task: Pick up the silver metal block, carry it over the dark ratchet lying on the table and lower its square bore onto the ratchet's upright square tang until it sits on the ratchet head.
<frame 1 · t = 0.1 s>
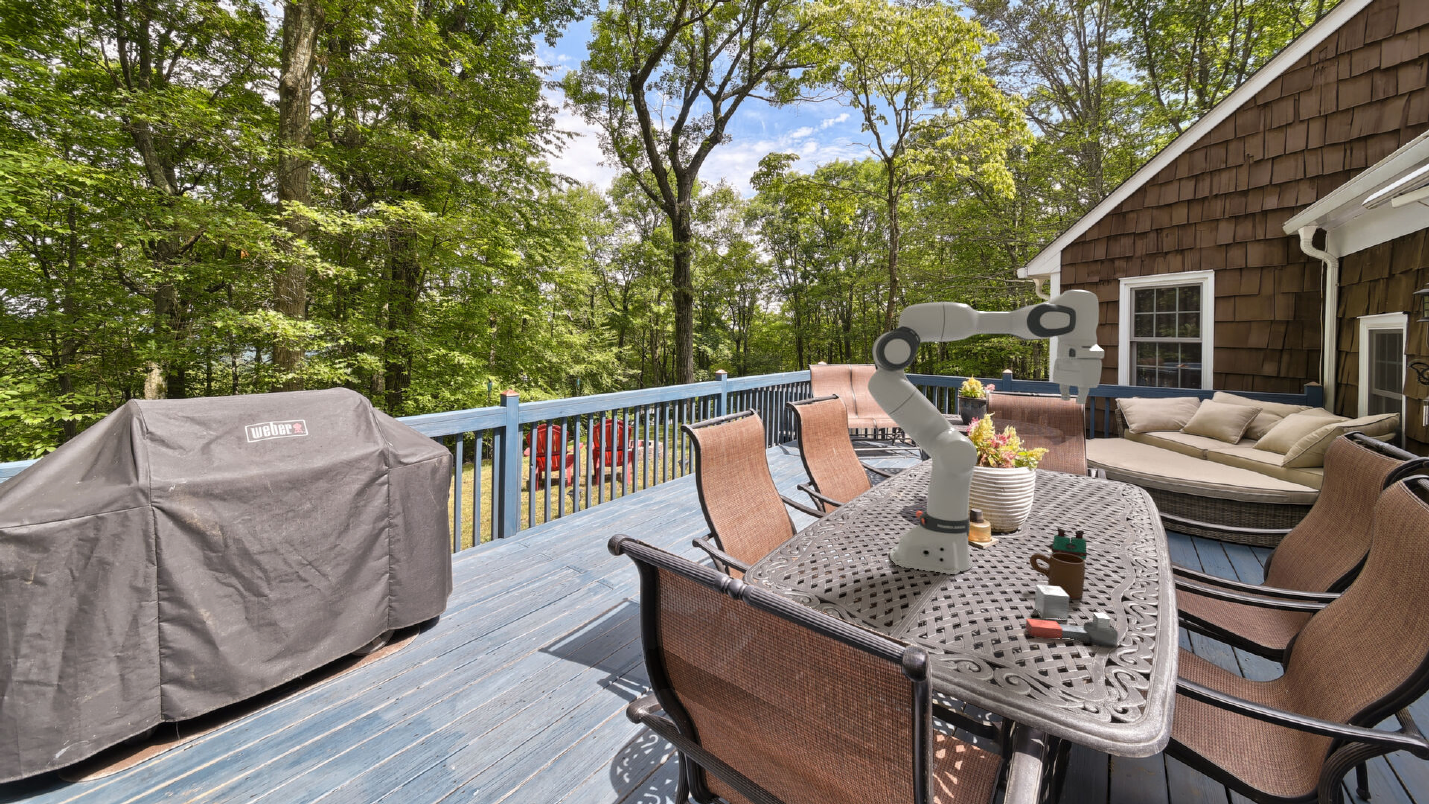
hand: (1072, 402, 147), 48 cm above the table, tool pointing down, fingers open, 8 cm apart
binoculars: (1066, 562, 159), on the table
silver metal block: (1050, 614, 128), on the table
mug: (1054, 591, 140), on the table
ratchet: (1099, 639, 117), on the table
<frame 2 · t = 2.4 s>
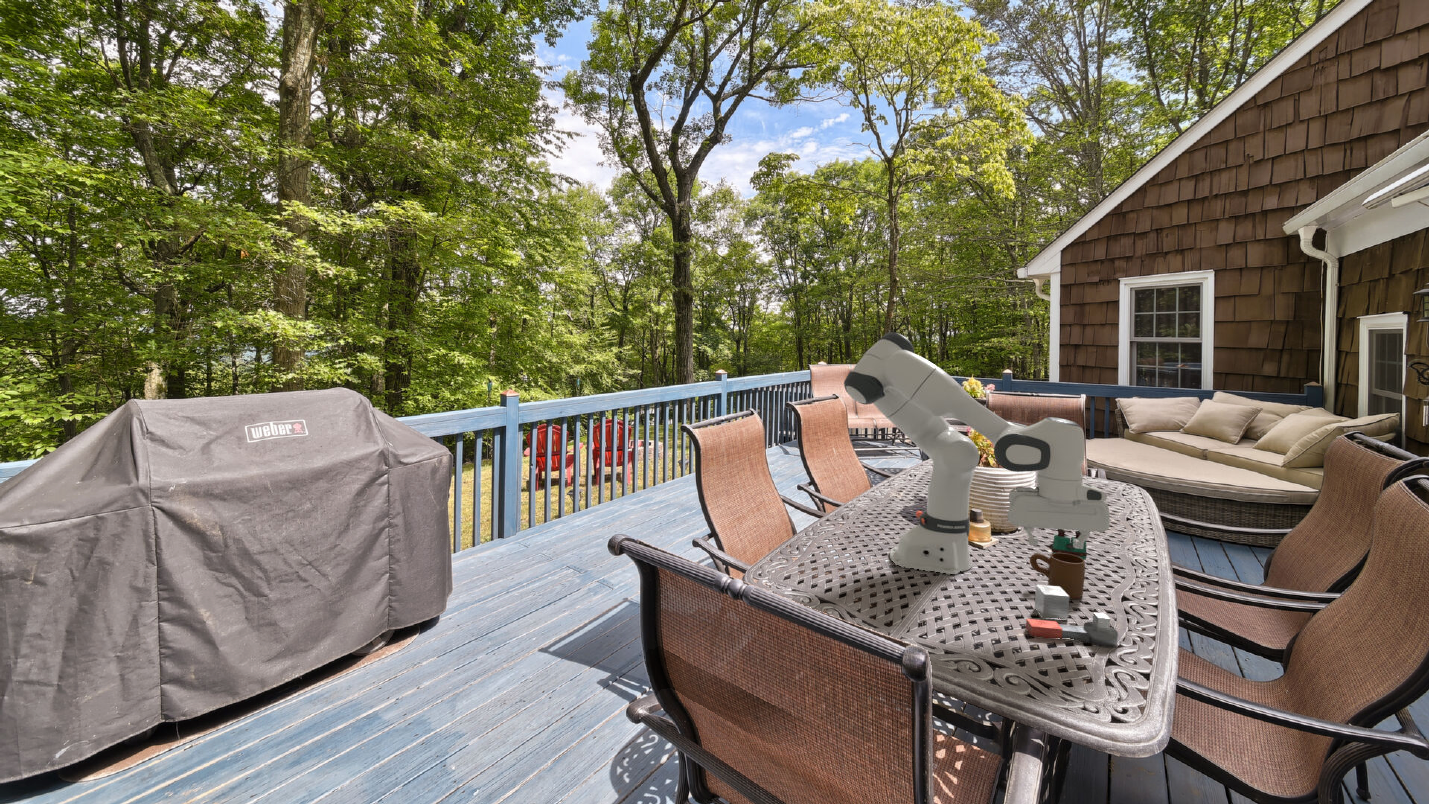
hand: (1055, 546, 126), 17 cm above the table, tool pointing down, fingers open, 8 cm apart
nothing on the table moved.
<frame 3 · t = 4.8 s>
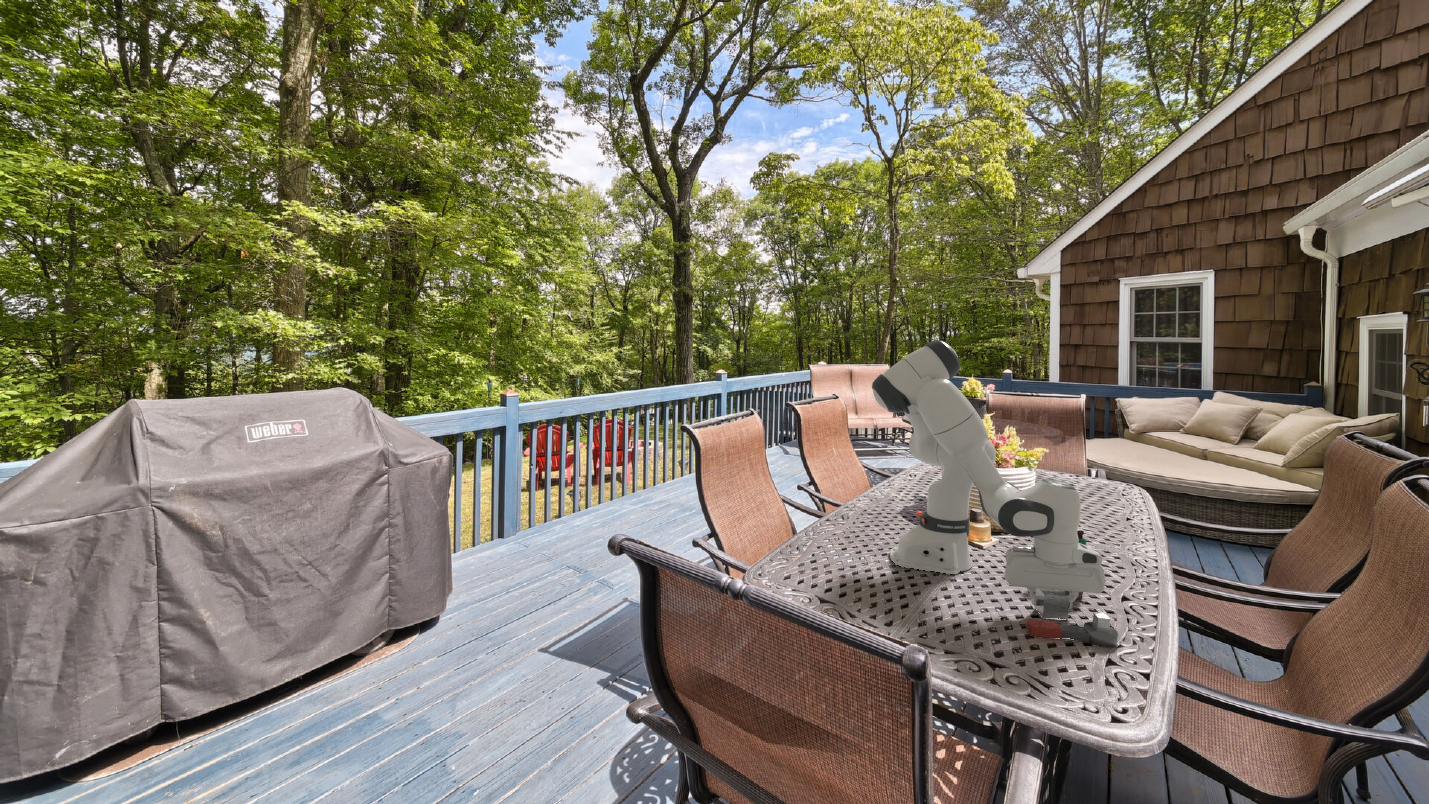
hand: (1051, 606, 127), 2 cm above the table, tool pointing down, fingers closed on silver metal block, 5 cm apart
silver metal block: (1050, 614, 128), on the table, touching gripper
everything else where it was.
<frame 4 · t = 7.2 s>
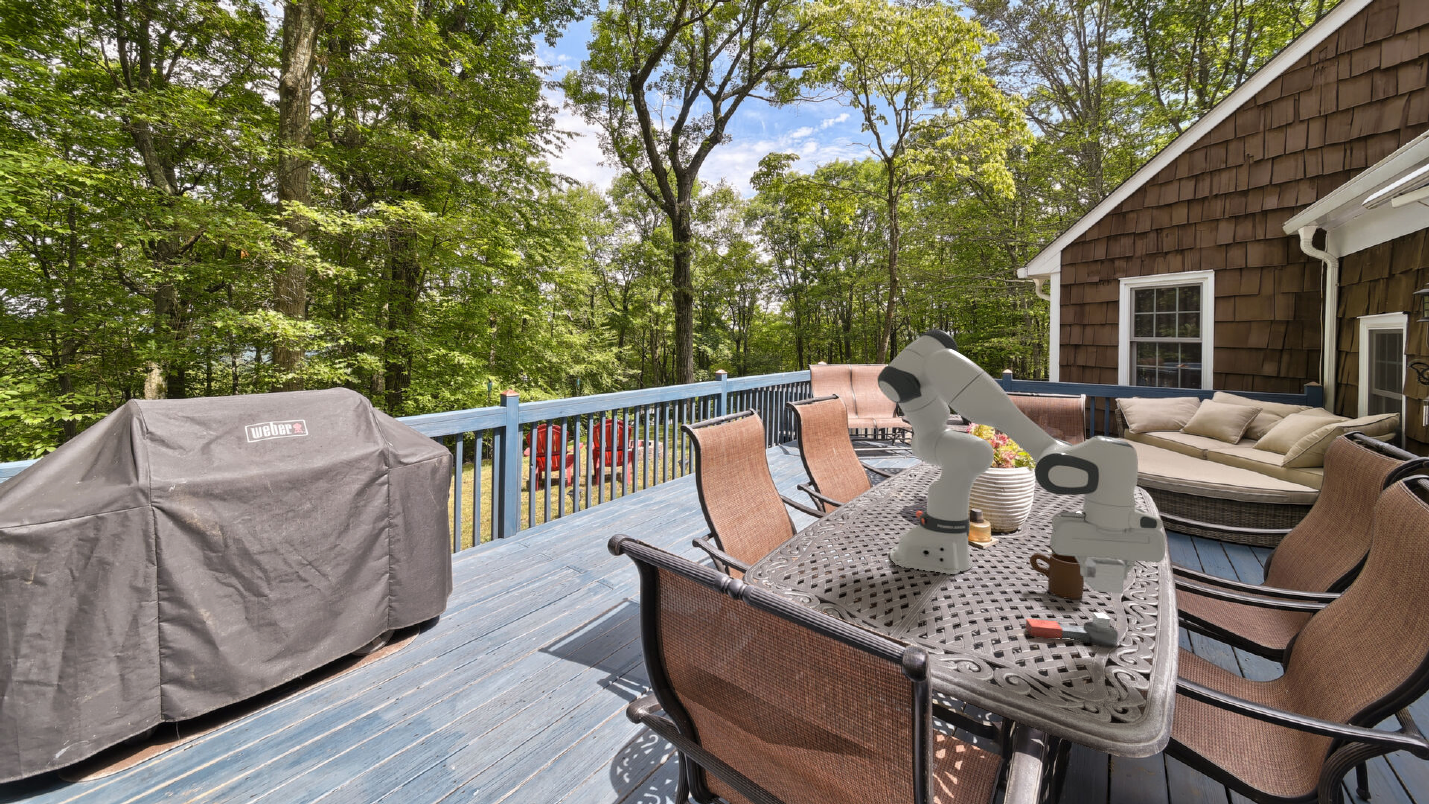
hand: (1103, 577, 115), 14 cm above the table, tool pointing down, fingers closed on silver metal block, 5 cm apart
silver metal block: (1102, 586, 115), point 12 cm above the table, touching gripper
everything else where it was.
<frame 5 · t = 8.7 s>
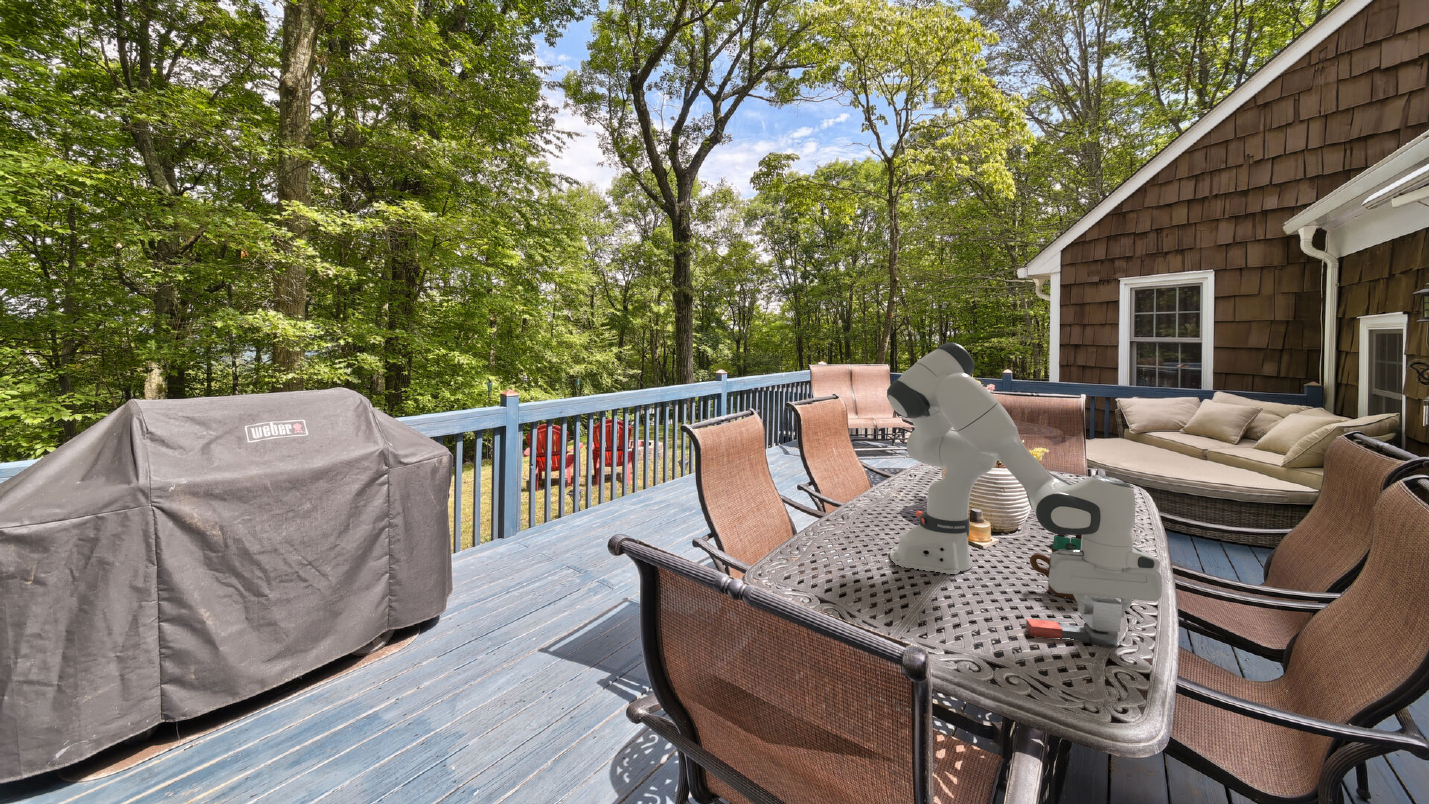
hand: (1100, 614, 116), 6 cm above the table, tool pointing down, fingers closed on silver metal block, 5 cm apart
silver metal block: (1100, 624, 116), point 4 cm above the table, touching gripper
everything else where it was.
when the fingers open (5 cm above the table, at t = 10.0 s): silver metal block stays where it is, resting on ratchet.
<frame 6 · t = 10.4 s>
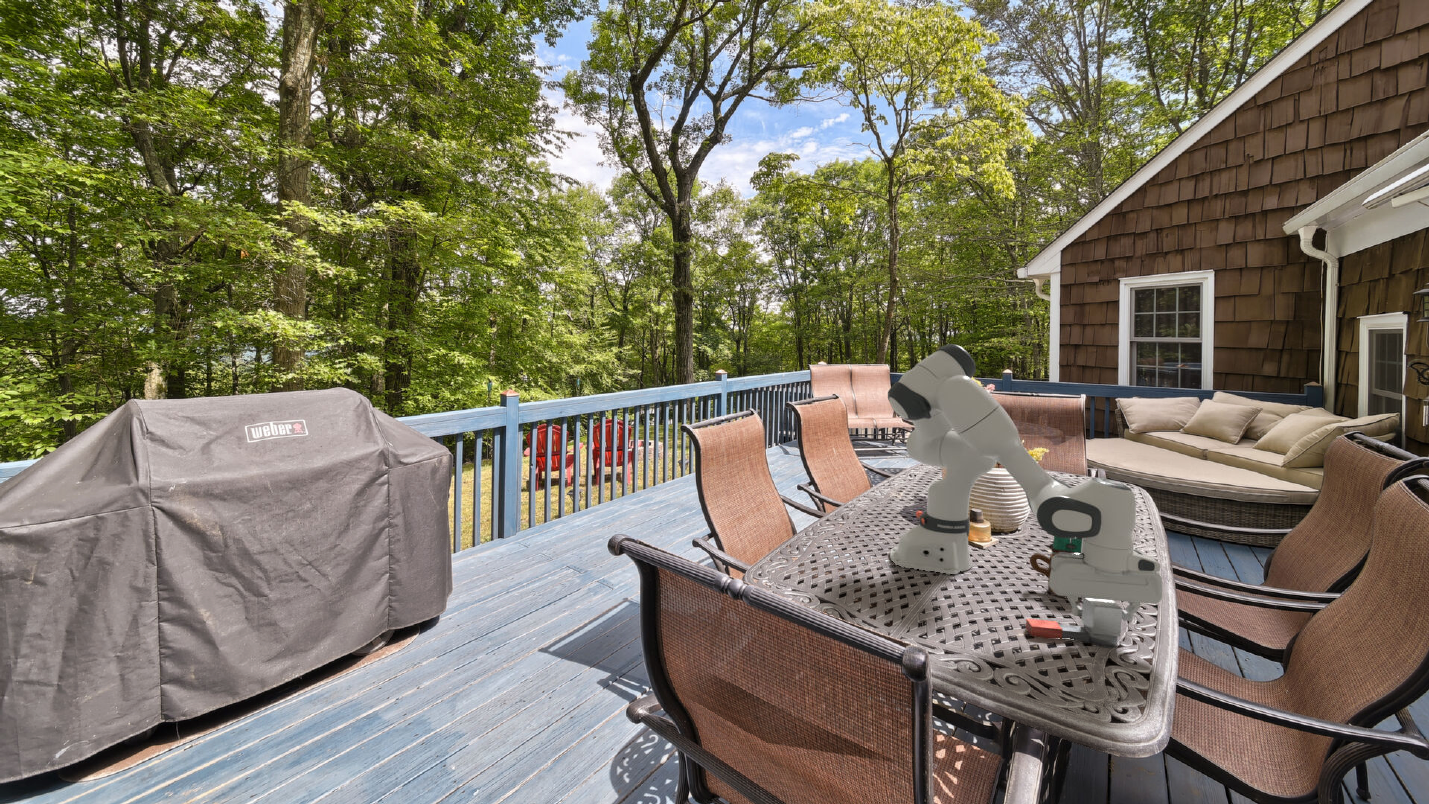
hand: (1101, 617, 116), 5 cm above the table, tool pointing down, fingers open, 8 cm apart
silver metal block: (1100, 628, 116), point 2 cm above the table, touching ratchet
everything else where it was.
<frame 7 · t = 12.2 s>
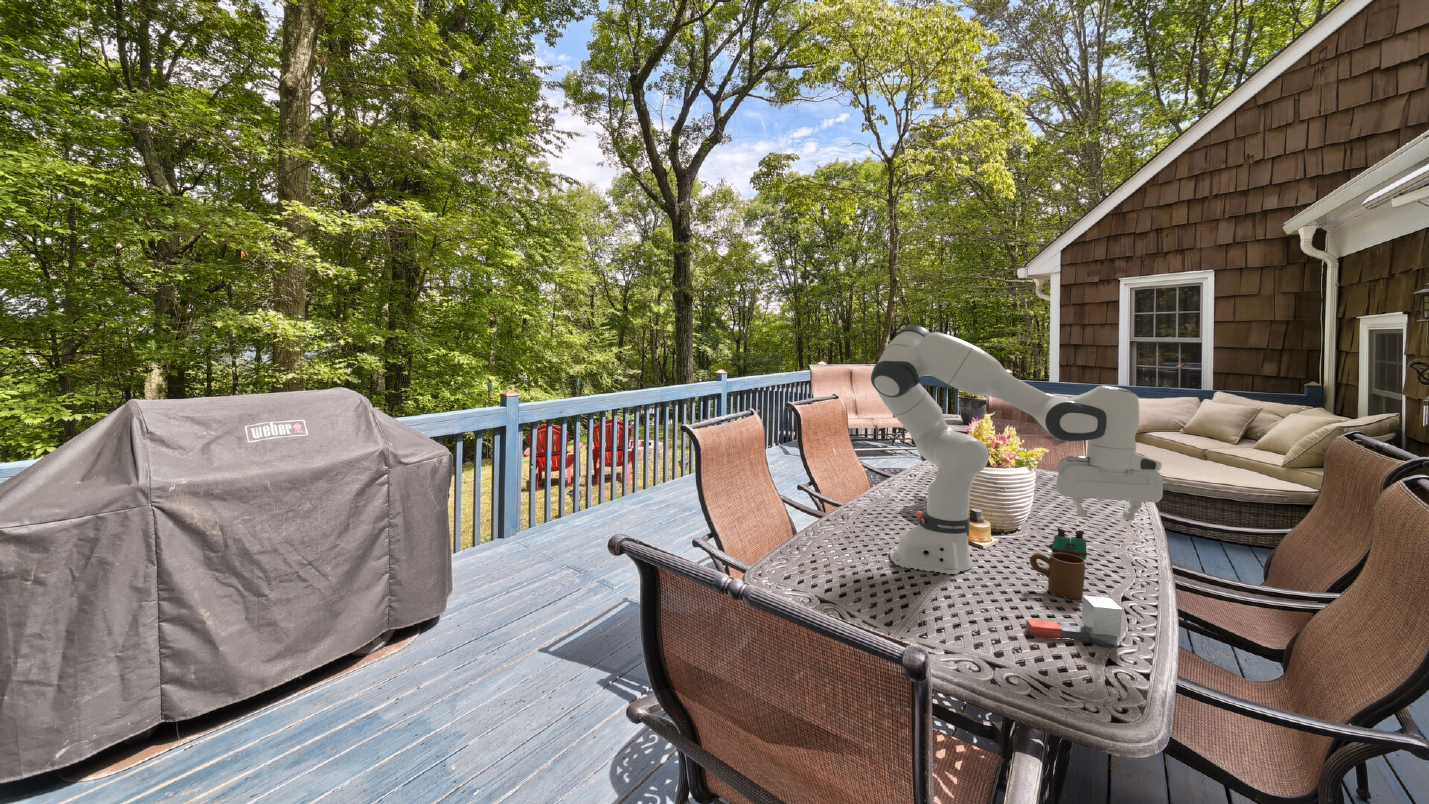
hand: (1104, 517, 123), 24 cm above the table, tool pointing down, fingers open, 8 cm apart
nothing on the table moved.
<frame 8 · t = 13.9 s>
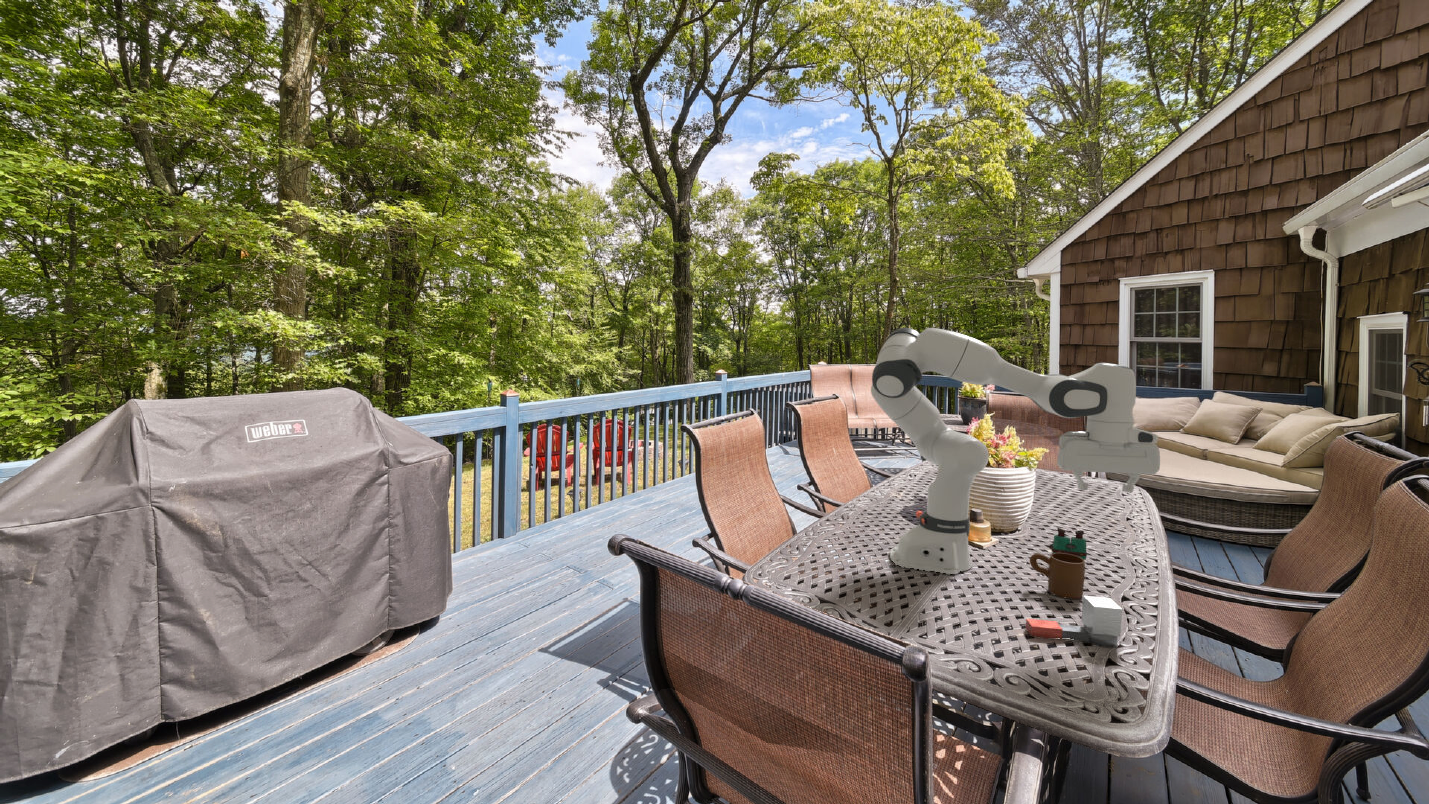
hand: (1104, 490, 128), 29 cm above the table, tool pointing down, fingers open, 8 cm apart
nothing on the table moved.
at the end: silver metal block 0.1 cm off-centre on the ratchet, point 2.5 cm above the ratchet's base; silver metal block tilted 0°; the gripper is holding nothing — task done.
